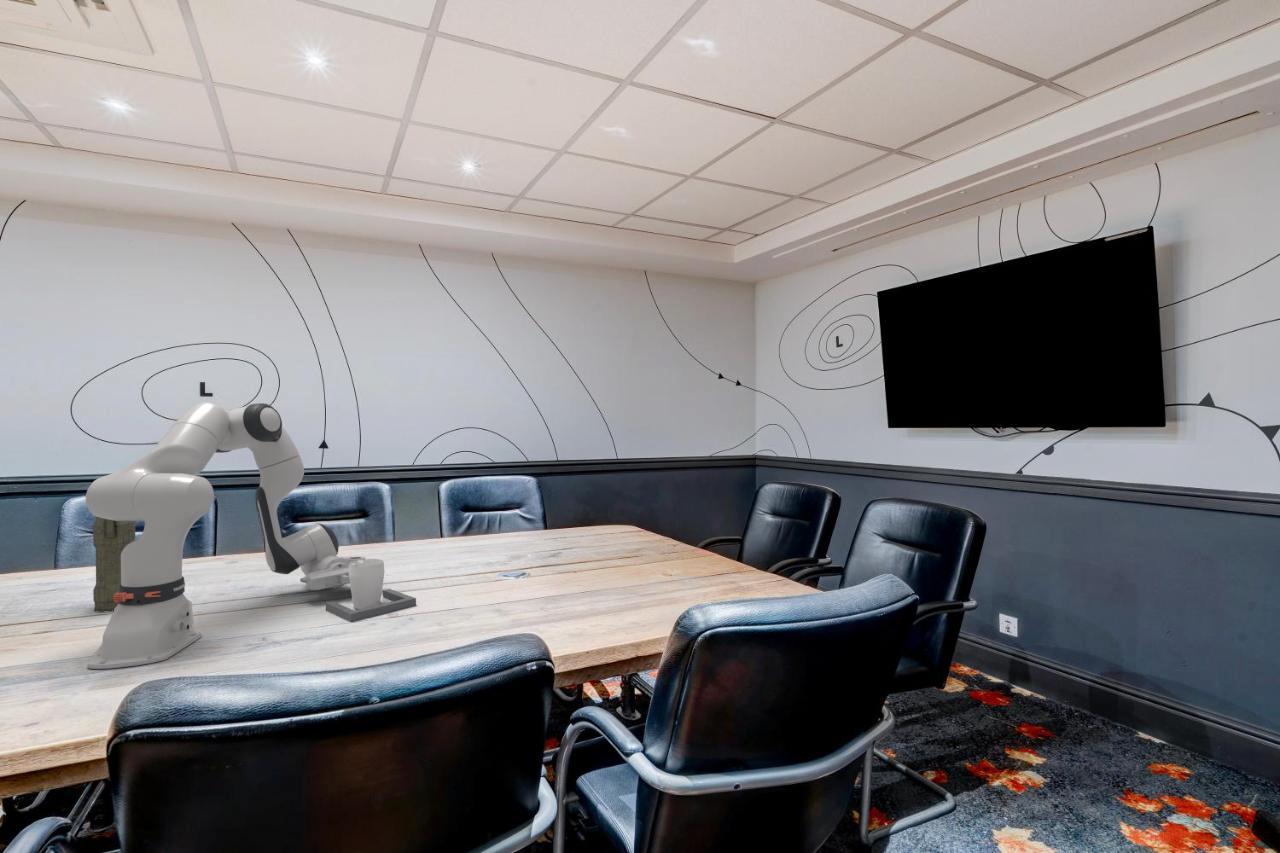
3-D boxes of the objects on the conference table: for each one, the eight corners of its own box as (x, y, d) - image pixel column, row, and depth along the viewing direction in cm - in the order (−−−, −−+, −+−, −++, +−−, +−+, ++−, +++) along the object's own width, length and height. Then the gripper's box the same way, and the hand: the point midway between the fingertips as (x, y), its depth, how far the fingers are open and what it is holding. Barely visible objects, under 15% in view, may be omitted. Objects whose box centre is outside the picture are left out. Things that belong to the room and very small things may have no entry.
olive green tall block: (91, 615, 161) (90, 481, 161) (95, 604, 171) (94, 478, 170) (135, 609, 167) (134, 479, 166) (136, 599, 176) (135, 476, 175)
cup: (375, 611, 166) (375, 566, 166) (342, 610, 166) (342, 566, 166) (390, 601, 175) (390, 558, 175) (359, 600, 175) (358, 558, 175)
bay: (325, 610, 166) (325, 602, 166) (389, 595, 180) (389, 588, 180) (350, 622, 157) (350, 614, 157) (416, 605, 171) (416, 598, 171)
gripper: (297, 568, 175) (318, 576, 166) (368, 555, 190) (391, 562, 182) (297, 590, 175) (318, 599, 166) (368, 576, 191) (391, 584, 182)
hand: (356, 580), depth 174 cm, fingers closed
